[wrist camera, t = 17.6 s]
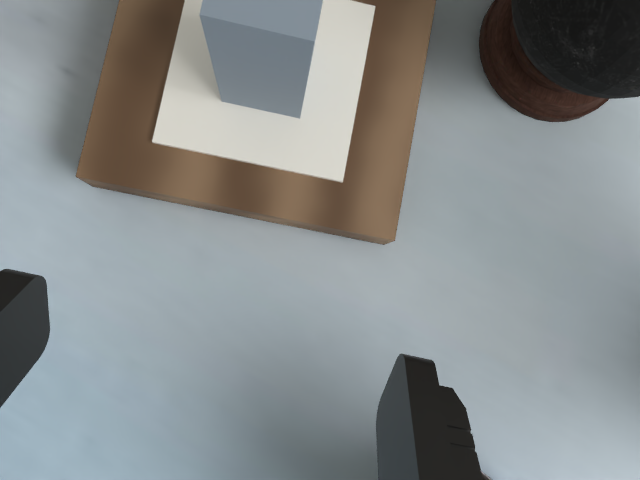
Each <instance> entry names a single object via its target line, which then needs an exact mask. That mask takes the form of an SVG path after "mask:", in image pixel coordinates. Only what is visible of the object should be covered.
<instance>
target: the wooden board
mask: <svg viewBox="0 0 640 480" xmlns="http://www.w3.org/2000/svg"><path fill="white" fill-rule="evenodd" d="M202 1H203V0H119V4H118V8H117V12H116V16H115V20H114V24H113V28H112V32H111V36H110V40H109V44H108V48H107V52H106V56H105V60H104V64H103V68H102V72H101V76H100V80H99V84H98V88H97V92H96V96H95V100H94V104H93V108H92V112H91V117H90V121H89V125H88V129H87V133H86V137H85V141H84V145H83V149H82V153H81V157H80V161H79V165H78V169H77V173H76V177H77V178H79V179H81V180H82V181H84V182H86V183H88V184H90V185H91V186H93V187H98V188H103V189H108V190H113V191H118V192H123V193H128V194H133V195H138V196H143V197H148V198H153V199H158V200H163V201H168V202H173V203H178V204H183V205H188V206H193V207H198V208H203V209H208V210H213V211H218V212H223V213H228V214H233V215H238V216H243V217H248V218H253V219H258V220H263V221H268V222H273V223H278V224H283V225H288V226H293V227H298V228H303V229H308V230H313V231H318V232H323V233H328V234H333V235H338V236H343V237H348V238H353V239H358V240H363V241H368V242H373V243H378V244H383V245H384V244H387V243H390V242H393V241H395V236H396V231H397V225H398V219H399V213H400V207H401V202H402V196H403V190H404V184H405V178H406V172H407V167H408V161H409V155H410V149H411V143H412V137H413V132H414V126H415V120H416V114H417V108H418V103H419V97H420V91H421V85H422V79H423V73H424V68H425V62H426V56H427V50H428V44H429V39H430V33H431V27H432V21H433V15H434V9H435V4H436V0H323V3H322V9H321V14H320V19H319V24H318V30H317V35H316V40H315V46H314V51H313V56H312V61H311V66H310V71H309V76H308V81H307V86H306V91H305V96H304V101H303V106H302V111H301V116H300V119H299V118H295V117H290V116H286V115H281V114H277V113H272V112H267V111H263V110H258V109H254V108H249V107H244V106H240V105H235V104H231V103H226V102H222V101H221V97H220V93H219V89H218V85H217V82H216V78H215V74H214V70H213V66H212V62H211V58H210V54H209V50H208V46H207V42H206V39H205V35H204V31H203V27H202V23H201V19H200V15H199V14H200V10H201V5H202Z"/></svg>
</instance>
